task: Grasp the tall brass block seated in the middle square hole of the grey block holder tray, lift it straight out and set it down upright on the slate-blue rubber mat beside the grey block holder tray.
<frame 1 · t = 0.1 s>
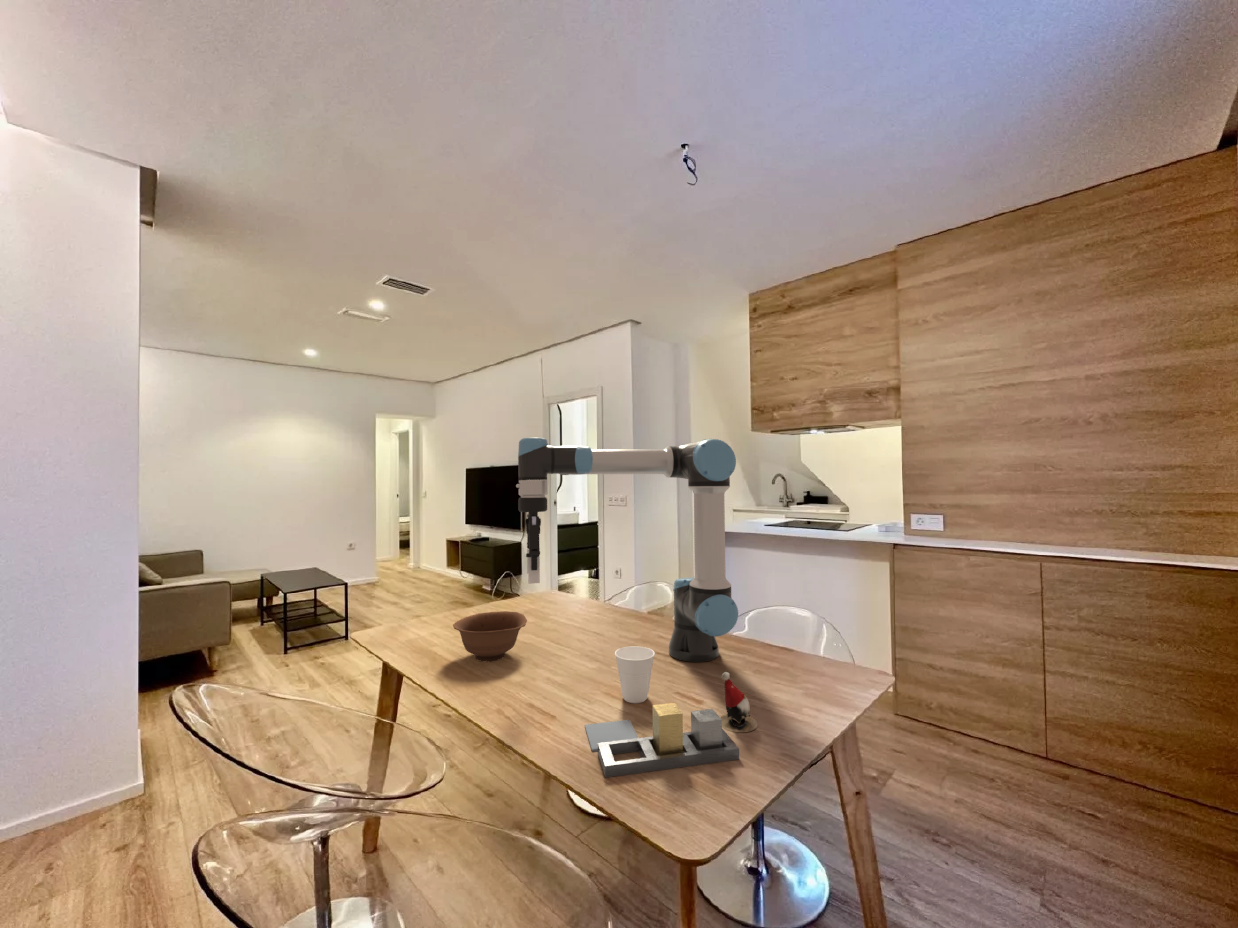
hand: (533, 577, 128), 28 cm above the table, fingers open, 13 cm apart
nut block: (667, 732, 95), in the grey block holder tray
figurine: (738, 724, 107), on the table
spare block: (706, 751, 96), resting in grey block holder tray
mat: (611, 735, 102), on the table
bowl: (490, 657, 149), on the table
grey block holder tray: (667, 756, 94), on the table
cup: (635, 699, 120), on the table
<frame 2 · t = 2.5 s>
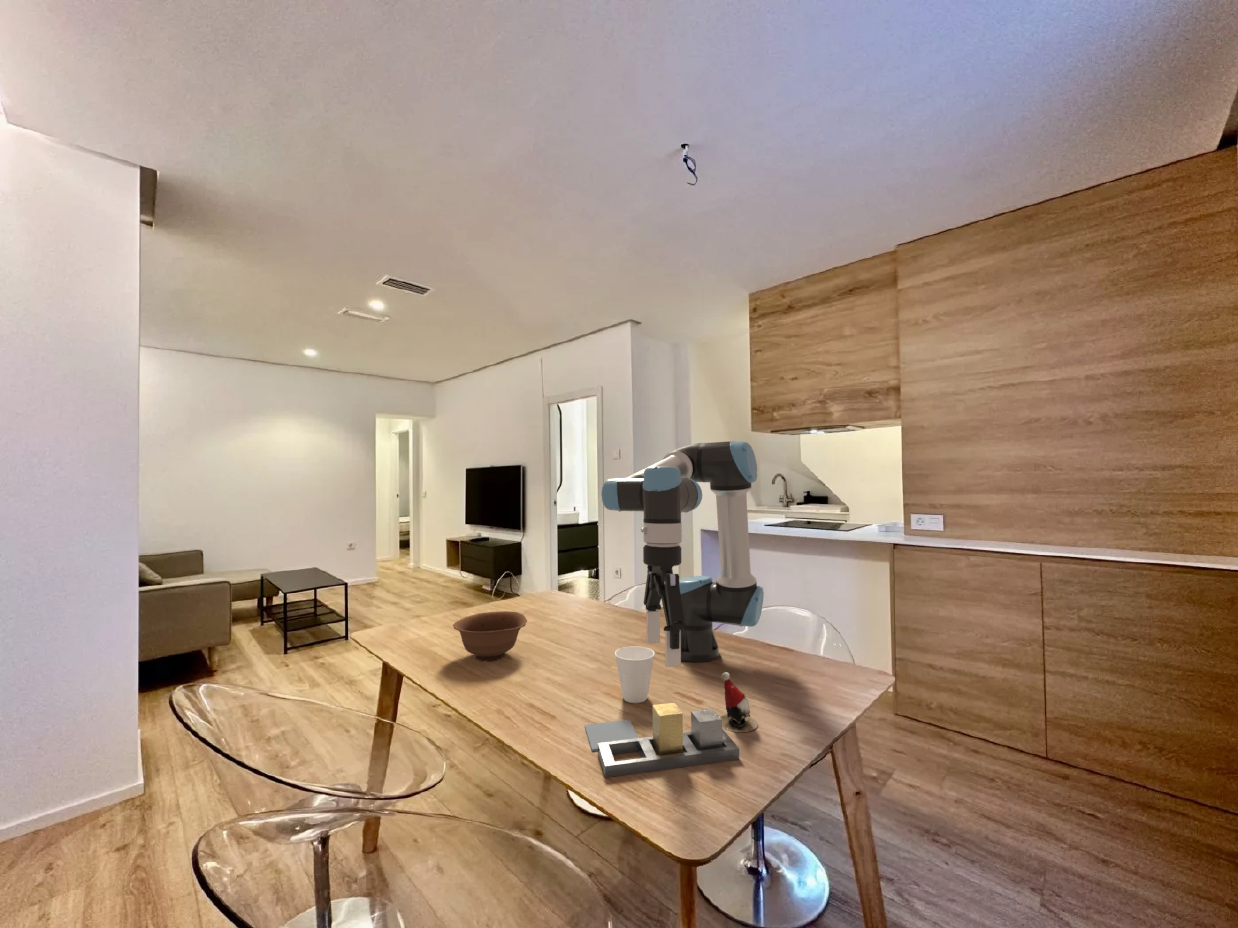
hand: (662, 653, 96), 19 cm above the table, fingers open, 13 cm apart
nothing on the table moved.
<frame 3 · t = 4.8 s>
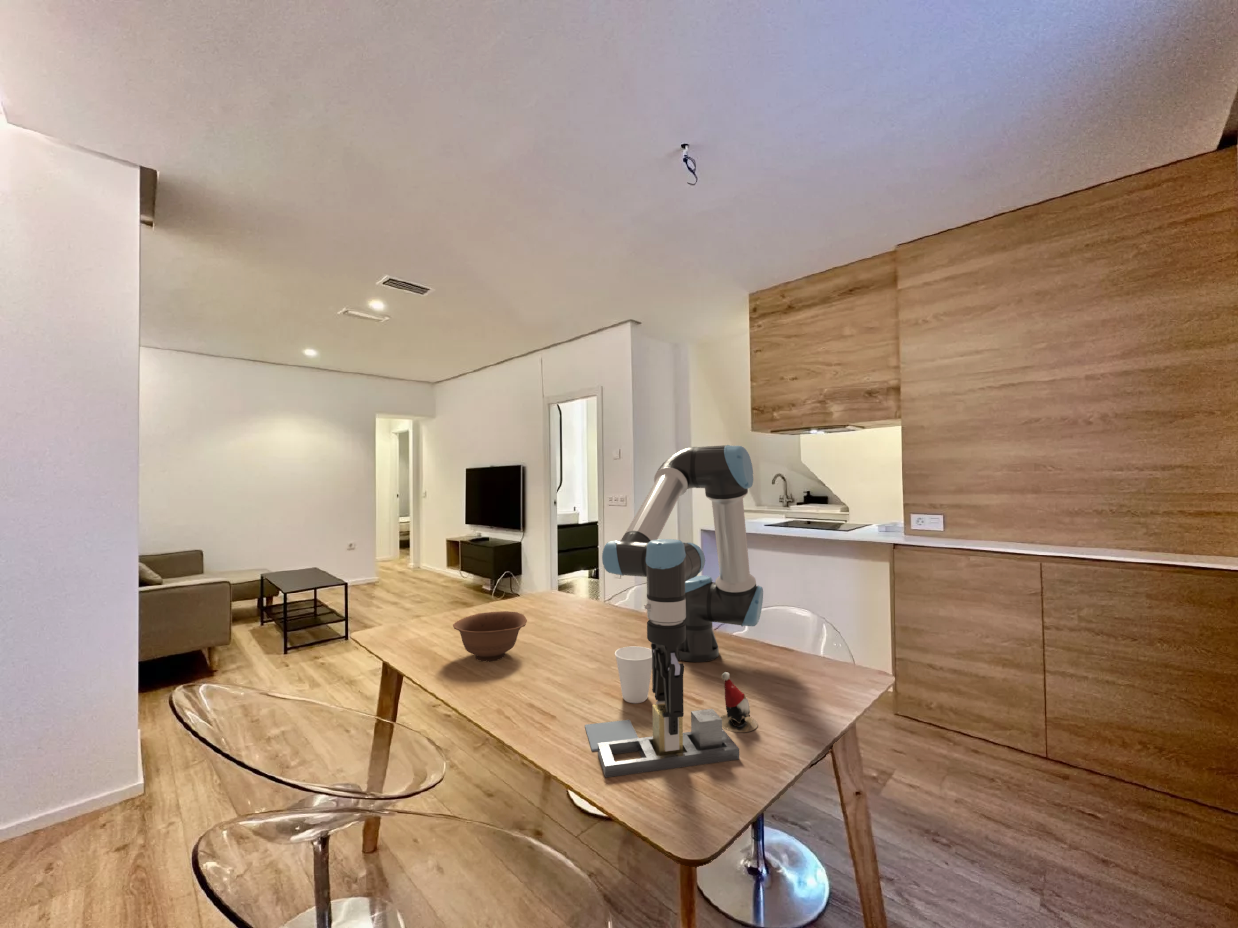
hand: (667, 741, 95), 3 cm above the table, fingers closed on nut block, 5 cm apart
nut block: (667, 732, 95), in the grey block holder tray, touching gripper
everything else where it was.
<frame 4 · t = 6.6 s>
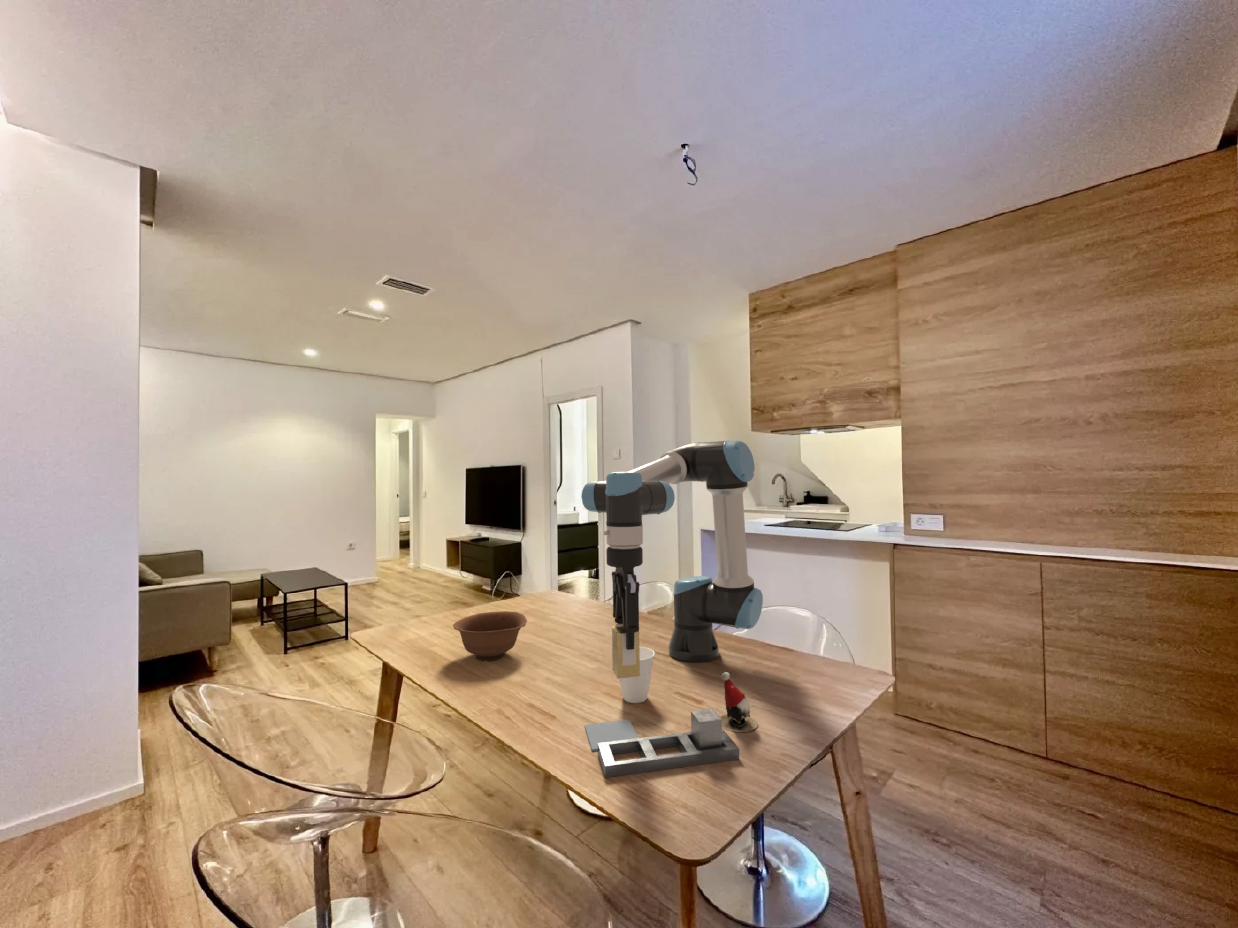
hand: (625, 659, 101), 16 cm above the table, fingers closed on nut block, 5 cm apart
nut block: (625, 650, 101), point 18 cm above the table, touching gripper
everything else where it was.
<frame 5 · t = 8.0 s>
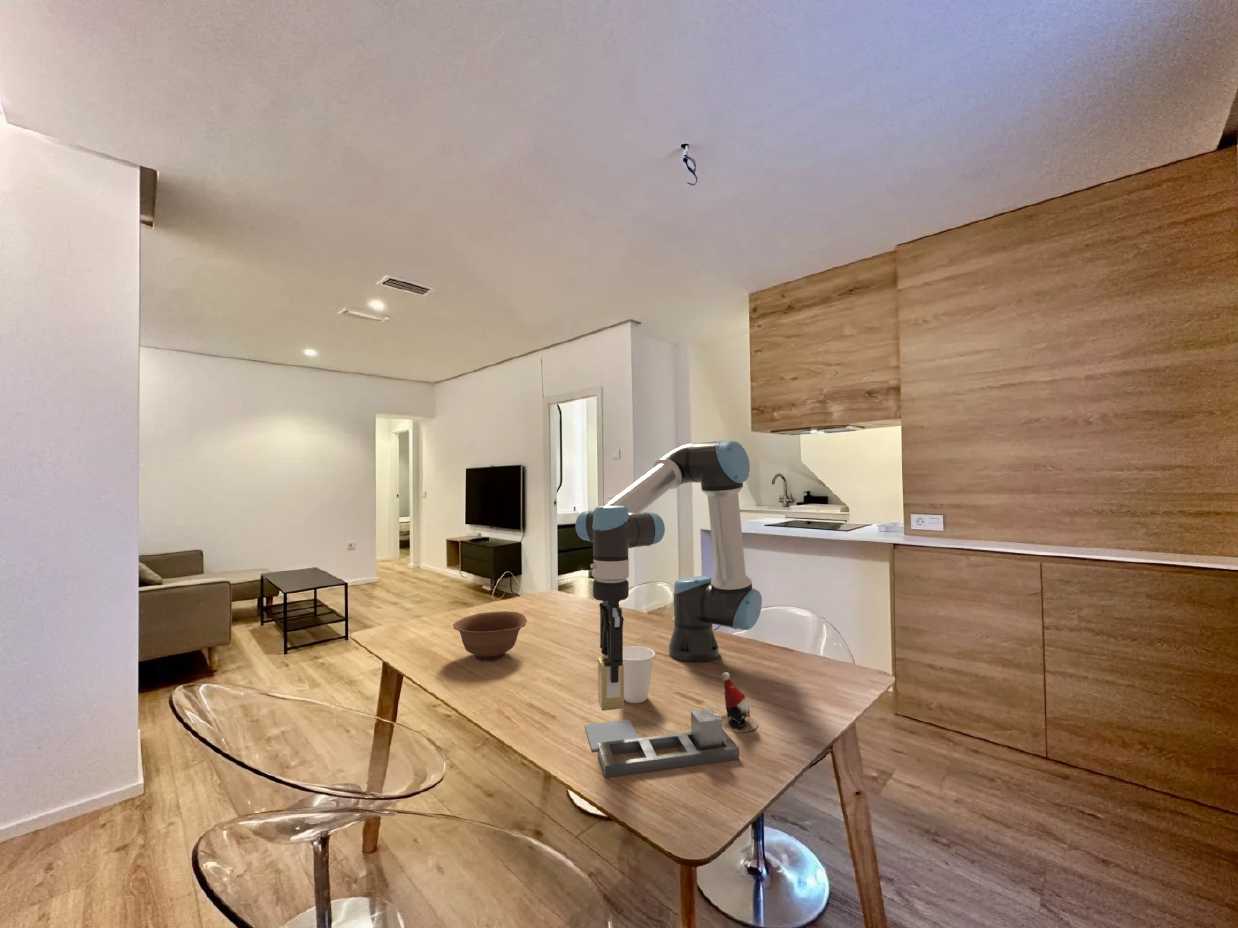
hand: (610, 691, 102), 9 cm above the table, fingers closed on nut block, 5 cm apart
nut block: (610, 682, 103), point 11 cm above the table, touching gripper
everything else where it was.
when the fingers open (5 cm above the table, at t = 8.9 s): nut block drops 2 cm, resting on mat.
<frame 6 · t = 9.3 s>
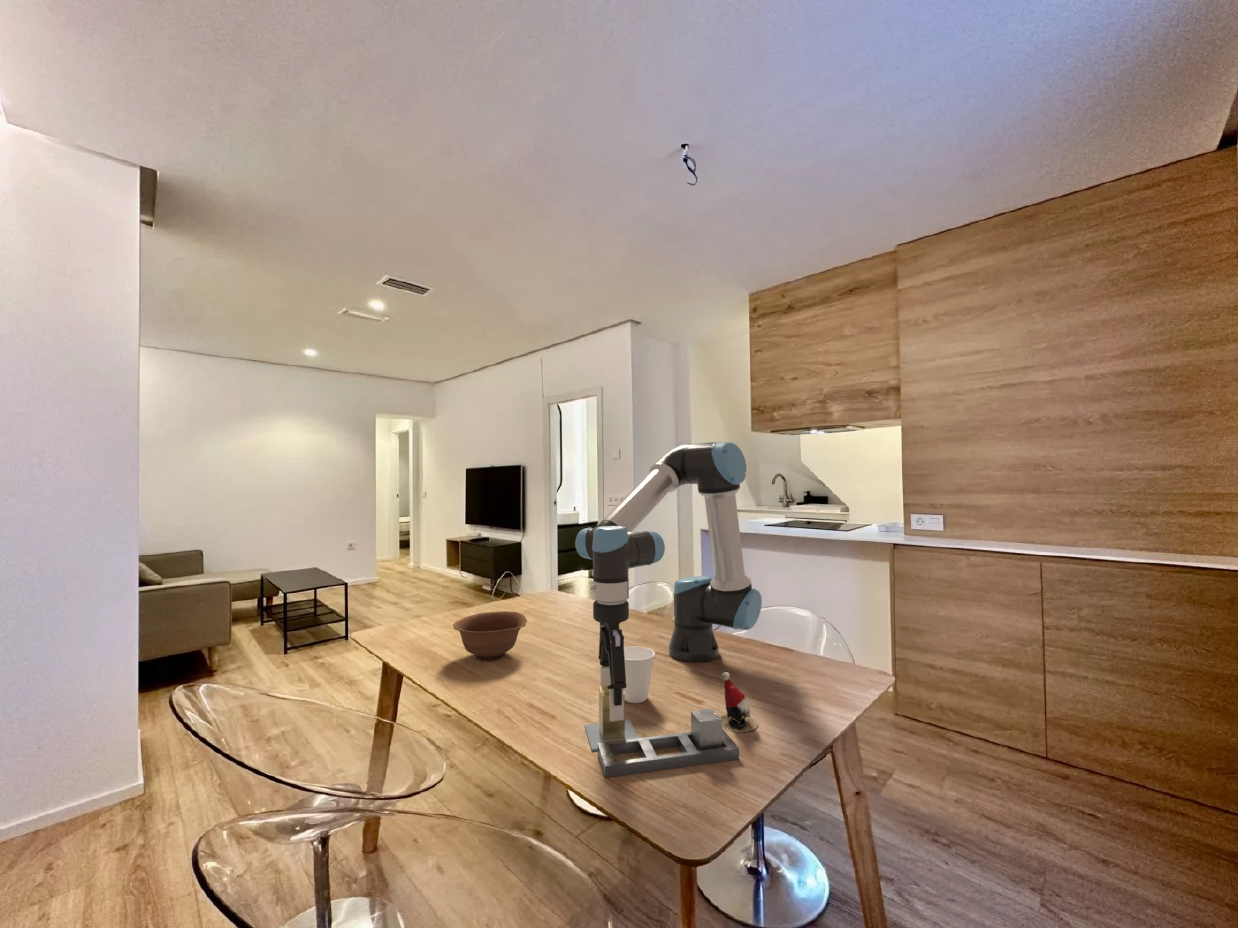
hand: (611, 707, 102), 6 cm above the table, fingers open, 10 cm apart
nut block: (611, 711, 102), on the mat
everything else where it was.
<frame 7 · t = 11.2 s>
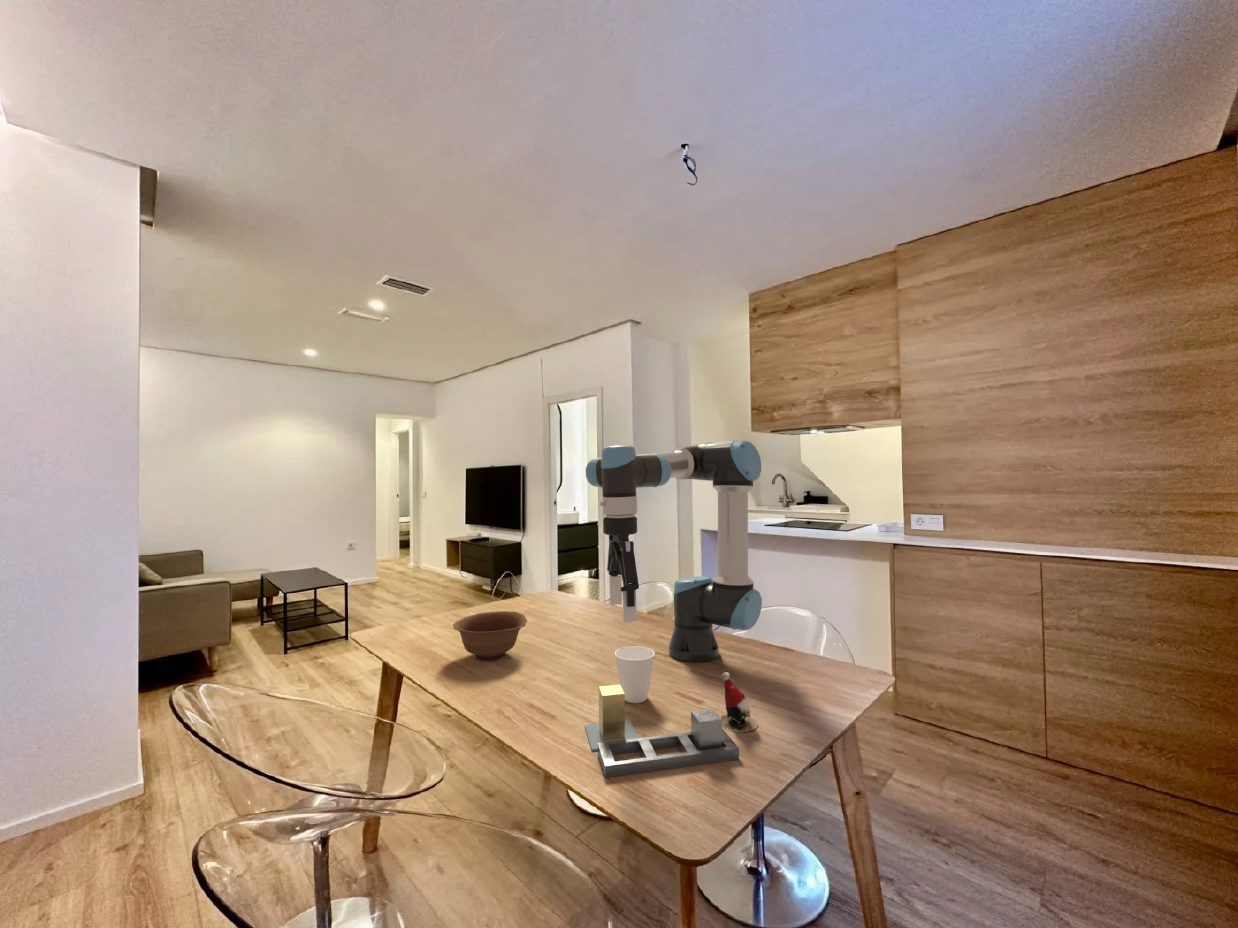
hand: (622, 612, 108), 24 cm above the table, fingers open, 13 cm apart
nothing on the table moved.
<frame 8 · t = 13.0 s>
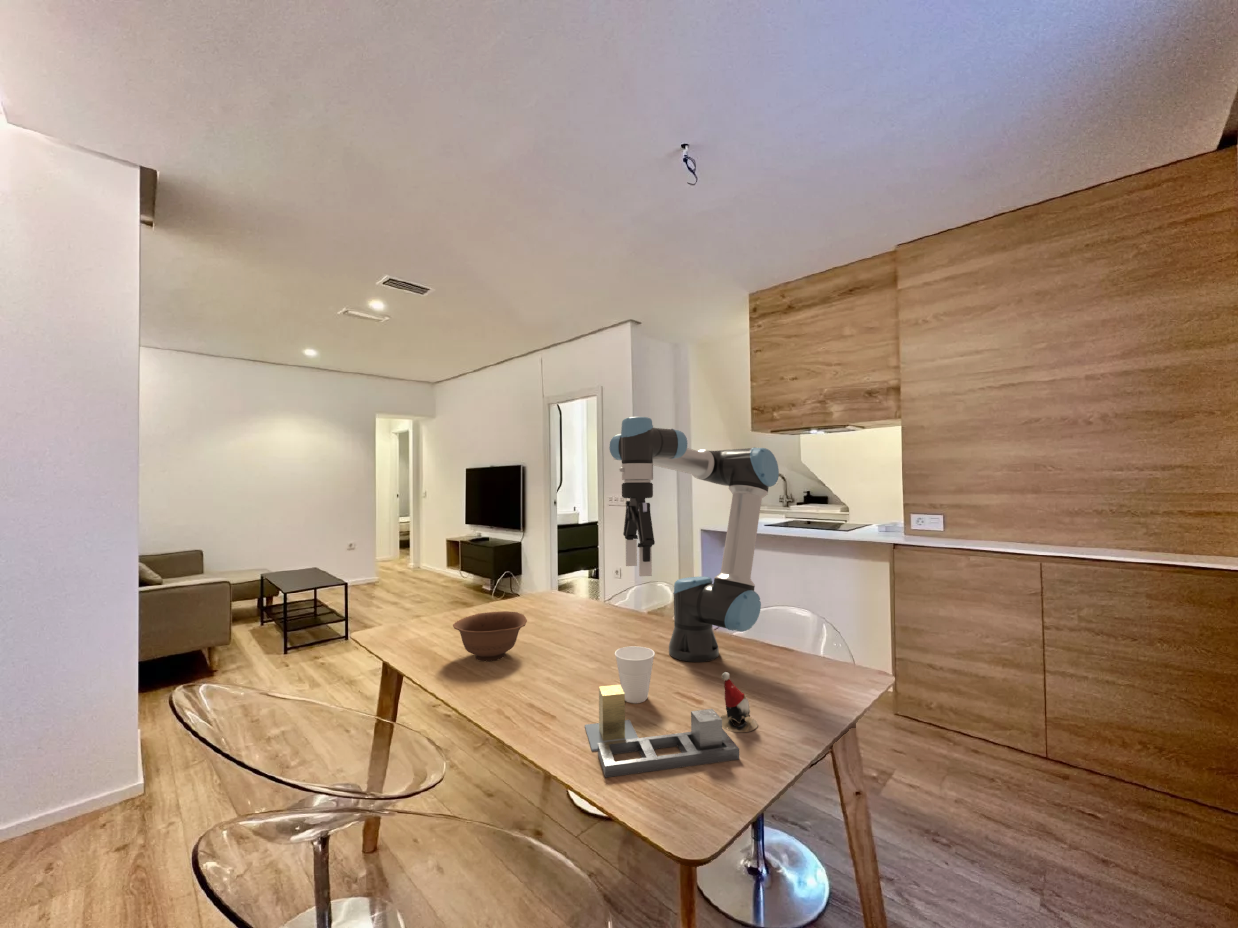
hand: (638, 570, 117), 32 cm above the table, fingers open, 13 cm apart
nothing on the table moved.
at the end: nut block inside the target area on the mat (0.1 cm from its centre), point 4.9 cm above the mat's base; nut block tilted 0°; the gripper is holding nothing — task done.
